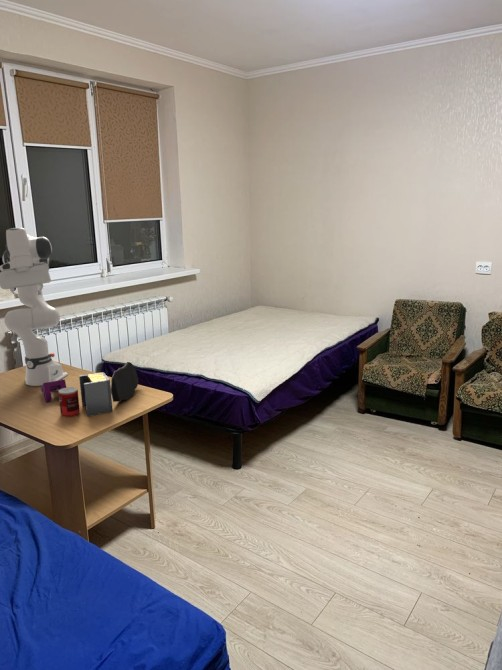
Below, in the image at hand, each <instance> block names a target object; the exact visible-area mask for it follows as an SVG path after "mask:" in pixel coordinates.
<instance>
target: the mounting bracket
mask: <svg viewBox="0 0 502 670" xmlns="http://www.w3.org/2000/svg"><path fill="white" fill-rule="evenodd" d="M62 388H67V384H66V380H65V379H64V378H63V379H61V380H58V381H52V382H47V383H43V385H41V387H40V392H41V393H42V394H43V399H44V401H45V403H49V402H52V401H53V399H52V392H54V391H59V390H60V389H62Z"/></svg>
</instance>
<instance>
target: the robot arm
mask: <svg viewBox="0 0 502 670" xmlns="http://www.w3.org/2000/svg"><path fill="white" fill-rule="evenodd" d="M5 231H6V232H5V237H6V238H5V239H6V244H5V245H4V246H5V250H4V251H3V255H2V257H1V258H2V263H3V264H1V265H0V288H1V289H2V290H10V292H11V293H12V294H13V296H14V299H15V300H16V299H18V300H19V301H20V303H21V304H22V305H24V306H27V307H28V308H17V309H12V310H10V311H7V312H6V314H5V315H4V321H3V322H4V324H5V327H7V329H9V330H10V331H11V332H13V333H14V334H16V335H17V336H18V337H19V338H20V340H21V341H22V344H23V349H24V354H25V356H24V363H25V378H24V382H25V385H27V386H30V387H36V386H37V387H38V386H42V385H43V383H47V382H52V381H58V380H63V379H64V378H65V377H66V376H68V375H69V374H68V372H66V371H63V367H62V365H61V364H60V363H59V362H57V361H55V360H53V358H55V356H56V355H55V353H54V352H53V353H51V352H50V353H49V345H48V340H47V339H46V338H45V337H44V336H42V335H39V334H36V333H35V332H34V330H44V329H50V328H53V327H54V328H55V327H56V326H58V324H59V323H60V319H61V315H60V312H59V311H58V310H57V308H55V307H53V306H51V305H50V304H48V302H47V301H46V300H45V298H44V296H43V289H44V284H49V283H51V280H52V279H51V276H50V272H49V271H50V266H49V262H50V257H51V256H52V253H53V247H52V244H51V242H50V240H49V239H48V238H47V237H45V236H39V237H35V236H31V235H30V234H28V233H27V230H26V229H25V228H24V227H12V228H8V229H6V230H5ZM17 288H18V289H17ZM15 289H17V290H18V293H16V292H15Z"/></svg>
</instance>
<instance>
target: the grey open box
mask: <svg viewBox="0 0 502 670" xmlns="http://www.w3.org/2000/svg"><path fill="white" fill-rule="evenodd" d="M78 377H79V387H80V398H81V407H82V408H85V407H86V415H87V417H91V416H96V415H101V414H106V413H112V412H113V410H114V409H113V399H112V394H111V379H110V378H109V377H108V376H107V375H106V373H105V372H104V371H102V372H101V371H100V372H95V373H89V374H81V375H78Z"/></svg>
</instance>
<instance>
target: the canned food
mask: <svg viewBox="0 0 502 670" xmlns="http://www.w3.org/2000/svg"><path fill="white" fill-rule="evenodd" d="M79 401H80V399H79V390H78V388H77V387H74V386H73V387H72V386H68V387H67V386H66V388H62V389H60V390H58V402H59V408H60V415H61V416H62V417H65V418H71V417H75V416H78V415H79V414H80V412H81V409H80V402H79Z"/></svg>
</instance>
